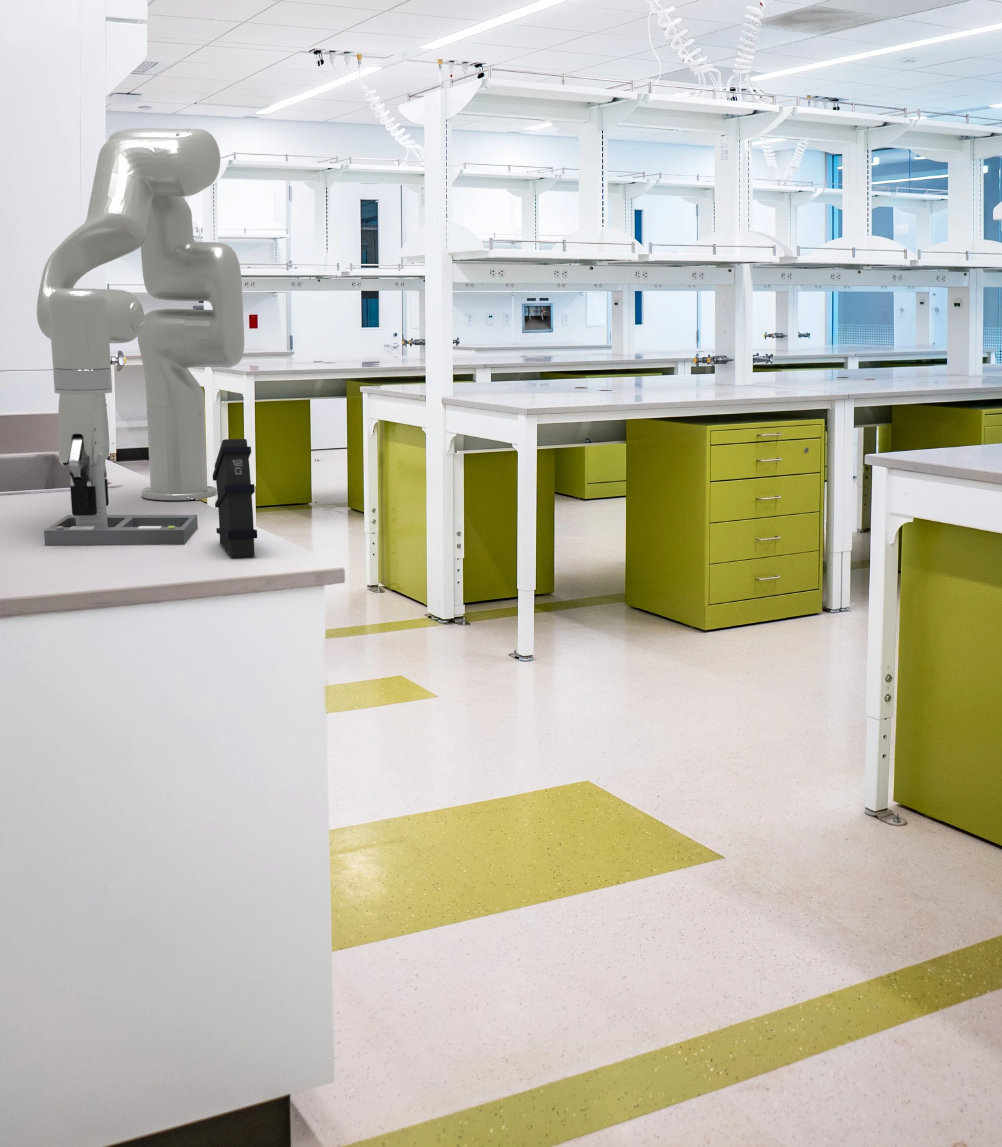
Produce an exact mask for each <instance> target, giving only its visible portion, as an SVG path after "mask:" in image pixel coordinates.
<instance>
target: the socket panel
mask: <svg viewBox="0 0 1002 1147" xmlns="http://www.w3.org/2000/svg"><path fill="white" fill-rule="evenodd" d="M198 519H199V518H198V514H107V522H108V527H95V526H76V519H75V516H74V515H73V514H68V515H66V516H64V517H62V518H61V519H60V520H58V521H56V522H54V523H53V524H52V525H50V526H49V527H48V528H46V529H44V530H43V535H44V536H43V538H44V546H100V545H101V546H115V545H116V546H122V545H124V546H127V545H128V546H129V545H130V546H133V545H134V546H136V545H137V546H139V545H140V546H143V545H147V546H148V545H150V546H151V545H152V546H155V545H156V546H157V545H158V546H159V545H161V546H162V545H185V544H186V543H187V542H188V541H189V539H190V538H191V537H192V536H193V535H194V533H196V532H197V530H198V529H199V526H198V525H199V524H198V523H199V522H198V521H199V520H198Z"/></svg>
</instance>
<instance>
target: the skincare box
mask: <svg viewBox="0 0 1002 1147" xmlns="http://www.w3.org/2000/svg"><path fill="white" fill-rule="evenodd" d="M81 463H89V460H86V459H81ZM85 471H86V475H87V470H85ZM104 479H105V478H104V466H103V454H102V453H99V462H98V464H97V465H96V466H93V486H95V488H96V505H97V514H96V515H93V516H75V519H76V526H95V527H108V522H107V515H108V511H107V506H106V495H105V480H104Z"/></svg>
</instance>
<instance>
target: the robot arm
mask: <svg viewBox="0 0 1002 1147" xmlns="http://www.w3.org/2000/svg"><path fill="white" fill-rule="evenodd" d="M220 168H221V152H220V148H219V144H218V142H217V140H216V138H215V137H214V136H213V134H211V133H210V132H209V131H207V130H206V129H202V128H201V129H199V128H155V127H143V128H142V127H141V128H139V127H138V128H127V129H126V128H125V129H120V130H118V131H116V132H114V133H112V134H111V135H110V136H109V137H108V141H107V142H106V143H104V144H103V146H102V147H101V148H100V151H99V153H98V157H97V163H96V168H95V171H94V172H95V173H94V177H93V182H92V189H91V193H90V198H89V203H88V204H89V205H88V210H87V216H86V220H85V221H84V222H83V224H82V225H80V226H79V227H78V228H76V229H75V230H74V231H72V233H71V234H70V235H68V236H67V237H66V238H65V239H64V240H63V241H62V242H61V243H60V244H59V245H58V246H57V247H56V249H55V250H54V251H53V252H52V253H51V254H50V255H49V257H48V259H47V261H46V263H45V265H44V268H43V269H42V275H41V280H40V284H39V290H38V294H37V295H38V296H37V304H36V319H37V324H38V327H39V329H40V331H41V333H43V335H44V337H46V338H47V339H49V340H50V344H51V357H52V359H51V360H52V374H53V388H54V394H59V397H58V415H57V416H58V417H57V418H58V420H57V421H58V424H57V425H58V426H57V428H58V459H59V460H58V462H59V463H60V465H61V466H62V467H68V466H69V469H70V470H69V475H70V477H69V479H70V480H69V484H70V487H69V488H70V504H71V515H74V516H93V515H96V514H97V505H96V488H95V486H93V466H96V465H97V464H98V462H99V453H102V454H103V466H104V480H105V495H106V507H108V506H109V503H110V502H109V487H108V478H107V477H108V476H107V475H108V474H107V473H108V472H107V468H106V467H107V466H106V461H107V459H109V457H110V431H109V430H110V429H109V420H108V419H109V417H108V408H107V406H108V405H107V401H106V400H107V399H106V394H111V393H113V380H112V377H113V376H112V363H111V347H110V346H111V345H110V344H126V343H130V342H132V341H134V340H135V339H136V338H137V343H138V348H139V352H140V356H141V358H140V359H141V362H142V368H143V374H144V383H145V384H144V385H145V399H146V402H145V403H146V419H147V438H148V439H147V441H148V459H149V460H148V461H149V463H148V464H149V481H150V482H149V485H150V486H149V487H146V488H142V489H141V497H142V498H143V499H148V500H155V501H156V500H157V501H191V500H194V499H195V500H203V499H208V498H213V497H215V496H217V487H215V486H210V485H208V474H207V473H208V470H207V447H206V446H207V443H206V442H207V441H206V440H207V439H206V423H205V422H206V419H205V418H206V417H205V416H206V415H205V414H206V412H205V397H204V396H205V395H204V391H203V388H202V387H201V384H200V383H199V382H198V380H197V379H196V378H195V377H194V374H192V372H191V371H190V370H189V368H230V367H234V366H237V365H238V364H239V363H240V362H241V361H242V359H243V356H244V352H245V351H244V350H245V324H244V303H243V302H244V301H243V280H242V272H241V271H242V270H241V265H240V261H239V259H238V255H237V254H236V252H235V250H234V249H233V248H232V247H231V246H229V245H228V244H226V243H224V242H222V243H221V242H217V241H215V242H214V241H209V242H207V241H195V239H194V238H195V237H194V229H193V213H192V210H191V208H190V206H189V203H188V202H187V200H186V197H190V196H191V197H192V196H194V195H196V194H198V193H200V192H202V191H203V190H205V189H207V188H208V187H210V186H211V185H212V184H213V183H214V182H215V181H216V179H217V177H218V176H219V173H220ZM139 248H140V254H141V268H142V270H141V271H142V277H143V279H142V280H143V283H144V287H145V289H146V290H145V291H146V292H147V293H148V294H149V295H150V296H151V297H153V298H154V299H157V300H163V301H174V302H175V301H176V302H177V301H178V302H180V301H181V302H188V301H189V302H208V303H210V304H211V308H212V309H192V308H159V309H155V310H154V309H153V310H151V311H148V312H147V313H145V314H144V308H143V305H142V304H141V302H140V300H139V299H138V298H137V297H136V296H135V295H134V294H132V293H131V292H129V291H126V290H124V289H114V288H113V289H112V288H111V289H110V288H109V289H107V288H106V289H105V288H74V287H75V285H76V284H77V282H78V281H79V280H80V279H82V277H84V276H85V275H87V273H89V272H90V271H91V270H94V269H96V268H98V267H100V266H102V265H104V264H107V263H109V262H112V261H114V260H118V259H120V258H121V257H124V256H126V255H128V254H131V253H133V252H134V251H136V250H138V249H139ZM81 459H86V460H89V463H81ZM85 470H87V475H86V471H85ZM188 497H189V498H188ZM191 498H193V499H191Z"/></svg>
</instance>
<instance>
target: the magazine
mask: <svg viewBox="0 0 1002 1147" xmlns="http://www.w3.org/2000/svg"><path fill="white" fill-rule="evenodd" d="M219 447H220V448H219V450H218V454H217V457H216V460H215V463H214V468H213V473H212V481H215V482H216V489H217V495H216V496H217V499H216V500H215V503H214V508H218V523H219V525H218V526H219V527H216V529H215V530H216V533H217V535H219V543H220V545H221V546H222V548H223V550H225V552H226V553H227V554H228V555H229V557H230V558H231V559H245V558H254V557H255V555H256V553H255V551H256V550H255V539H258V530H257V529H254V512H253V511H254V510H253V497H252V496H253V495H254V493H255V484H254V483H251V482H252V480H251V470H250V469H251V468H250V467H251V466H250V460H249V459H250V456H251V455H252V446H248V439H246V438H232V439H231V438H228V439H227V438H226V439H223V440H222V441H221V444H220V446H219Z"/></svg>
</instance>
